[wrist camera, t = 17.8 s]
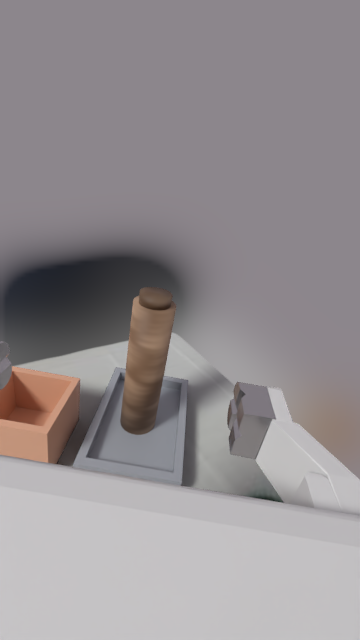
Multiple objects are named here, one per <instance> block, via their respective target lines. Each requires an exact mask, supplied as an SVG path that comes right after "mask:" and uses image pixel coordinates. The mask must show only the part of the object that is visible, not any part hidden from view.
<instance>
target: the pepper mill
mask: <svg viewBox="0 0 360 640" xmlns="http://www.w3.org/2000/svg"><path fill="white" fill-rule="evenodd" d="M175 310H176V304H175V303H174V302H173V301H172V294H171V293H170V292H169V291H167V290H164V289H161V288H156V287H146V288H142V289H141V290H140V295H139V296H137V297H135V298H134V300H133V308H132V317H131V327H130V335H129V344H128V354H127V363H126V372H125V381H124V391H123V400H122V409H121V418H120V423H121V426H122V428H123V429H124V430H125V431H127V432H128V433H131V434H134V435H142V434H146V433H148V432H150V431H151V430H152V429H153V428H154V425H155V421H156V415H157V410H158V404H159V399H160V393H161V388H162V382H163V377H164V371H165V365H166V360H167V354H168V349H169V343H170V338H171V332H172V326H173V321H174V316H175Z"/></svg>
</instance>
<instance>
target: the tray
mask: <svg viewBox="0 0 360 640" xmlns="http://www.w3.org/2000/svg"><path fill="white" fill-rule="evenodd" d="M125 372H126V369H123V368H118V367H116V368H115V371H114V373H113V375H112V377H111V380H110V382H109V384H108V386H107V389H106V391H105V393H104V395H103V398H102V400H101V402H100V405H99V407H98V409H97V411H96V414H95V416H94V418H93V420H92V423H91V425H90V427H89V429H88V432H87V434H86V436H85V438H84V441H83V443H82V445H81V447H80V450H79V452H78V454H77V456H76V459H75V461H74V463H73V467H76V468H82V469H88V470H94V471H100V472H105V473H111V474H117V475H123V476H129V477H134V478H140V479H146V480H152V481H158V482H163V483H169V484H175V485H181V484H182V472H183V456H184V440H185V424H186V408H187V392H188V380H184V379H179V378H173V377H168V376H164V377H163V382H162V388H161V393H160V399H159V404H158V410H157V415H156V421H155V425H154V428H153V429H152V430H151V431H150V432H148V433H146V434H142V435H134V434H131V433H128V432H127V431H125V430H124V429H123V428H122V426H121V423H120V418H121V409H122V400H123V391H124V381H125Z"/></svg>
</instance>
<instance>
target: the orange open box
mask: <svg viewBox="0 0 360 640" xmlns="http://www.w3.org/2000/svg"><path fill="white" fill-rule="evenodd" d="M79 402H80V378H74V377H69V376H63V375H58V374H52V373H47V372H41V371H35V370H30V369H24V368H19V367H13V366H12V374H11V377H10V379H9V381H8V383H7V385H6V386H5V387H4V388H3V389H1V390H0V455H6V456H12V457H18V458H23V459H29V460H35V461H41V462H47V463H53V464H57V462H58V460H59V458H60V456H61V454H62V452H63V450H64V448H65V446H66V444H67V442H68V440H69V438H70V436H71V434H72V432H73V430H74V428H75V426H76V424H77V422H78V420H79Z"/></svg>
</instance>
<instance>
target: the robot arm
mask: <svg viewBox="0 0 360 640" xmlns="http://www.w3.org/2000/svg"><path fill="white" fill-rule="evenodd" d="M9 353H10V351H9V345H8V344H7V343H5V342H1V341H0V390H1V389H3V388H4V387H5V386H6V385H7V383H8V381H9V379H10V377H11V374H12V364H11V362H10V361H9V360H8V359H7V356H8V355H9ZM227 422H228V428H229V429H230V431H231V432H230V436H229V445H230V454H231V455H236V456H241V457H246V458H251V459H256V460H255V461H256V462H257V464H258V465H259V467H260V468H261V469H262V471H263V472H264V474H265V475H266V477H267V478H268V480H269V481H270V483H271V484H272V486H273V487H274V489H275V490H276V492H277V493H278V494H279V496H280V497H281V499H282V500H283V502H284V503H281V502H275V501H269V500H263V499H257V498H251V497H246V496H240V495H234V494H228V493H222V492H216V491H210V490H204V489H198V488H192V487H187V486H181V485H175V484H169V483H163V482H158V481H152V480H146V479H140V478H134V477H129V476H123V475H117V474H111V473H105V472H100V471H94V470H88V469H82V468H76V467H70V466H64V465H59V464H53V463H47V462H41V461H35V460H29V459H23V458H18V457H12V456H6V455H0V640H360V479H358V478H357V477H356V476H355V475H354V474H353V473H352V472H351V471H350V470H348V469H347V468H346V467H345V466H344V465H343V464H342V463H341V462H340V461H339V460H337V459H336V458H335V457H334V456H333V455H332V454H331V453H330V452H329V451H328V450H327V449H325V448H324V447H323V446H322V445H321V444H320V443H319V442H318V441H317V440H315V439H314V438H313V437H312V436H311V435H310V434H309V433H308V432H307V431H305V430H304V429H303V428H302V427H301V426H300V425H299V424H298V423H293V420H292V417H291V415H290V412H289V409H288V406H287V404H286V401H285V398H284V396H283V393H282V390H281V389H280V388H274V387H267V386H265V387H264V386H258V385H252V384H246V383H240V382H237V383H236V385H235V388H234V399H232V400H231V401H230V405H229V409H228V420H227Z"/></svg>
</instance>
